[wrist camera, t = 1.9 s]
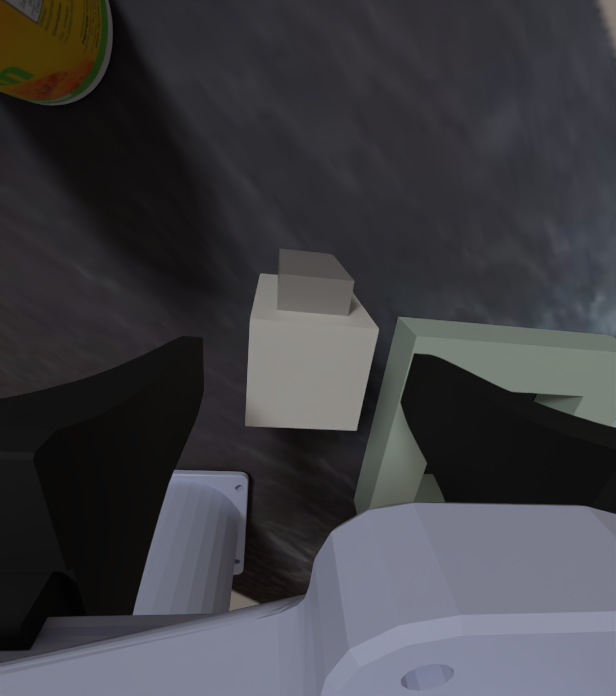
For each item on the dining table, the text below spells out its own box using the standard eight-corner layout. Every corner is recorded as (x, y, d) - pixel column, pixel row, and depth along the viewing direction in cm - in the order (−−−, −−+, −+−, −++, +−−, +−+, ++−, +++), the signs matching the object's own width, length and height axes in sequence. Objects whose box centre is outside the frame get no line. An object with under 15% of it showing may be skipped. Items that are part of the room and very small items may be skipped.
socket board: (518, 502, 24) (543, 535, 21) (353, 500, 22) (362, 534, 20) (607, 335, 18) (654, 355, 16) (398, 316, 17) (416, 336, 15)
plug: (332, 356, 18) (356, 430, 12) (255, 351, 17) (245, 425, 12) (349, 256, 15) (387, 292, 10) (261, 246, 15) (252, 279, 9)
